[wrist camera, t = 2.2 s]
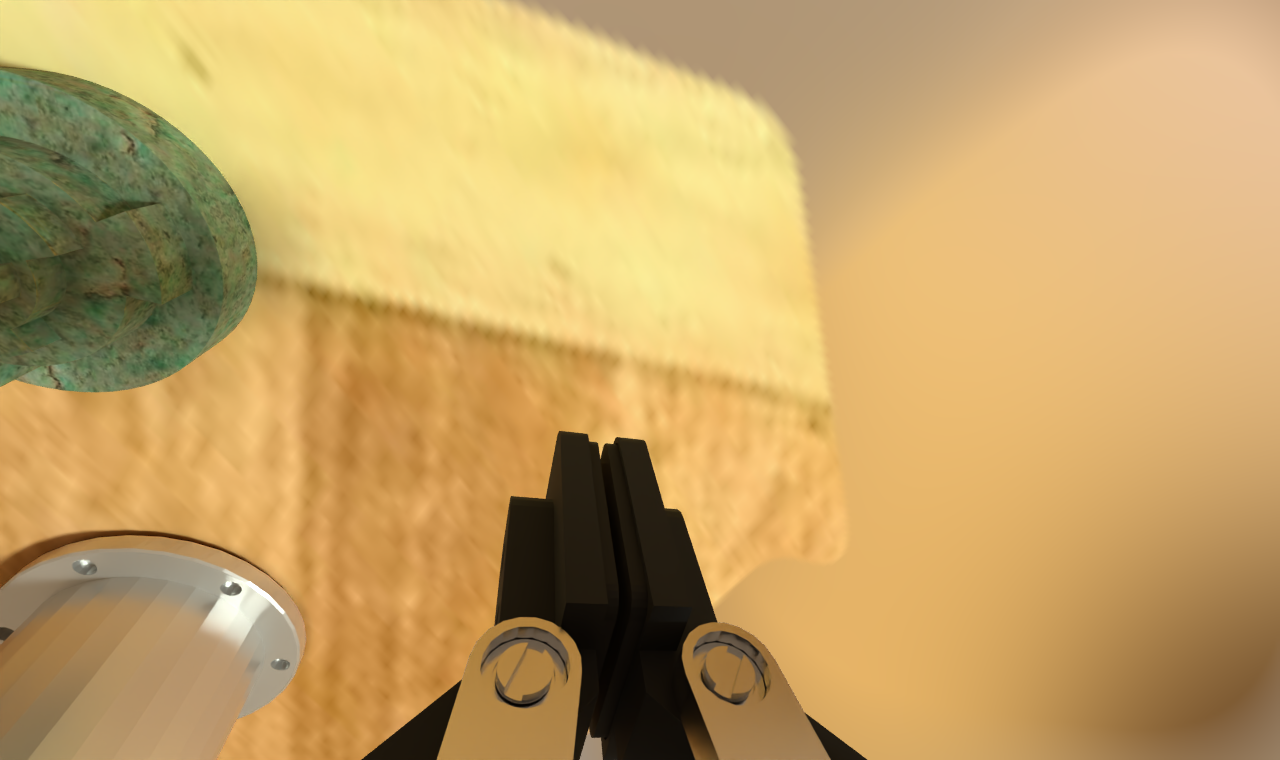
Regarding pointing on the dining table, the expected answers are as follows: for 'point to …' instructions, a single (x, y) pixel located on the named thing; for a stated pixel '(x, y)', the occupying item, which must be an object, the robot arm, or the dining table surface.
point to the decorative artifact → (110, 240)
